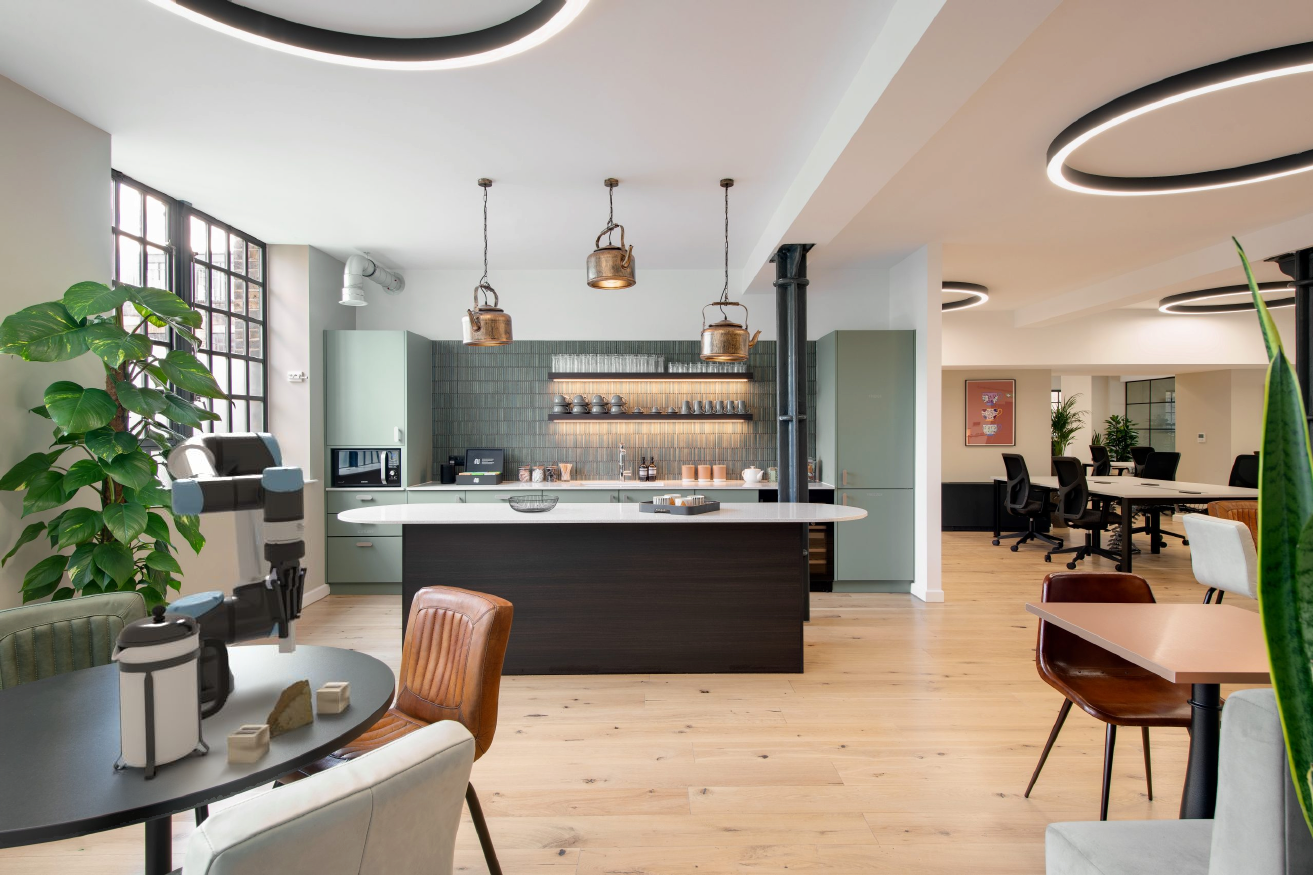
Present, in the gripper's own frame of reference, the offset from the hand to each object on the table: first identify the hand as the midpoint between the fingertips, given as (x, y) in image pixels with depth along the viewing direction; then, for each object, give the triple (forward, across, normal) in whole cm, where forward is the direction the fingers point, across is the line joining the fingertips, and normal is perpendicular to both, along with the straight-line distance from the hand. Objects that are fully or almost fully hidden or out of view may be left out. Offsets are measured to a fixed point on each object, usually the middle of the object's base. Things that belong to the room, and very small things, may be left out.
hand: (287, 651), depth 138 cm
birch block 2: (+16, +9, -5) cm, 19 cm away
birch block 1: (+16, -12, +1) cm, 20 cm away
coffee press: (+16, -12, +16) cm, 26 cm away
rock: (+16, 0, 0) cm, 16 cm away
